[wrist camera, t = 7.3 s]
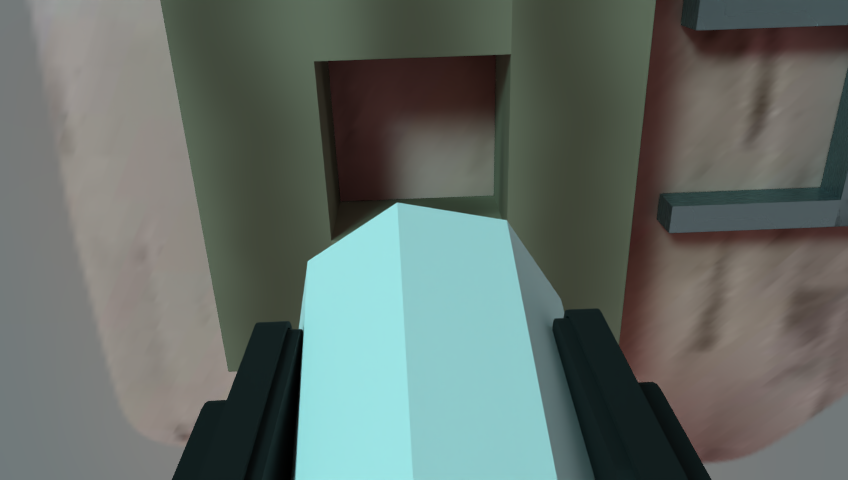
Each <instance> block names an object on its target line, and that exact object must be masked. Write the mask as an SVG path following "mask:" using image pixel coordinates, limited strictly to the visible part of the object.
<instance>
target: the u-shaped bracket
mask: <svg viewBox="0 0 848 480" xmlns="http://www.w3.org/2000/svg"><path fill="white" fill-rule="evenodd" d="M681 25H682V26H685V27H688V28H691V29H694V30H720V29H748V28H776V27H804V26H832V25H848V0H684V4H683V12H682V20H681ZM657 220H658V221H659V222H660V223H661V225H662V226H663V227H664V228H665V229H666V230H667V231H668V232H669V233H684V232H710V231H735V230H760V229H786V228H811V227H836V226H848V70H847V74H846V78H845V83H844V87H843V91H842V96H841V100H840V105H839V109H838V113H837V118H836V122H835V126H834V131H833V135H832V139H831V144H830V148H829V152H828V157H827V161H826V166H825V170H824V174H823V179H822V183H821V187H818V188H793V189H767V190H741V191H715V192H689V193H664V194H660V198H659V206H658V214H657Z"/></svg>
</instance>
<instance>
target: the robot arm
mask: <svg viewBox="0 0 848 480" xmlns="http://www.w3.org/2000/svg"><path fill="white" fill-rule="evenodd" d="M552 331H553V334H554V338H555V341H556V345H557V348H558V352H559V355H560V359H561V362H562V366H563V369H564V373H565V376H566V380H567V383H568V387H569V390H570V394H571V397H572V401H573V404H574V408H575V411H576V415H577V418H578V422H579V425H580V429H581V432H582V436H583V439H584V443H585V446H586V450H587V453H588V457H589V460H590V464H591V467H592V471H593V474H594V478H595V480H711V478H710V476H709V474H708V473H707V471H706V469H705V467H704V466H703V464H702V462H701V460H700V458H699V457H698V455H697V453H696V451H695V449H694V448H693V446H692V444H691V442H690V441H689V439H688V437H687V435H686V433H685V432H684V430H683V428H682V426H681V424H680V423H679V421H678V419H677V417H676V416H675V414H674V412H673V410H672V408H671V407H670V405H669V403H668V401H667V400H666V398H665V396H664V394H663V392H662V391H661V389H660V388H659V386H658V385H657V384H655V383H653V382H642V383H638V382H637V380H636V378H635V376H634V374H633V372H632V370H631V368H630V366H629V364H628V362H627V360H626V358H625V357H624V355H623V353H622V351H621V349H620V347H619V345H618V343H617V341H616V339H615V337H614V335H613V333H612V331H611V329H610V328H609V326H608V324H607V322H606V320H605V318H604V316H603V314H602V312H601V311H600V309H598V308H594V309H569V310H566V311H565V313H564V317H563V318H555V319H554V321H553V327H552ZM302 342H303V330H302V329H292V326H291V323H290V322H289V321H278V322H258V323H256V324H255V326H254V329H253V331H252V334H251V337H250V339H249V342H248V345H247V347H246V350H245V353H244V355H243V358H242V361H241V363H240V366H239V369H238V371H237V374H236V377H235V379H234V382H233V385H232V388H231V390H230V393H229V396H228V398H227V400H220V401H208V402H206V403H205V404H204V406H203V408H202V409H201V411H200V414H199V416H198V419H197V421H196V423H195V426H194V428H193V431H192V433H191V435H190V438H189V440H188V442H187V445H186V447H185V450H184V452H183V454H182V457H181V459H180V462H179V464H178V466H177V469H176V471H175V474H174V476H173V478H172V480H291V470H292V459H293V447H294V436H295V424H296V412H297V401H298V389H299V378H300V366H301V354H302Z"/></svg>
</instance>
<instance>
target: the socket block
mask: <svg viewBox="0 0 848 480" xmlns="http://www.w3.org/2000/svg"><path fill="white" fill-rule="evenodd" d="M160 1H161V6H162V12H163V17H164V23H165V28H166V34H167V39H168V44H169V50H170V55H171V61H172V66H173V72H174V77H175V83H176V88H177V93H178V99H179V104H180V110H181V115H182V121H183V126H184V132H185V137H186V142H187V148H188V153H189V159H190V164H191V170H192V175H193V181H194V186H195V191H196V197H197V202H198V208H199V213H200V219H201V224H202V230H203V235H204V240H205V246H206V251H207V257H208V262H209V268H210V273H211V279H212V284H213V290H214V295H215V300H216V306H217V311H218V317H219V322H220V328H221V333H222V339H223V344H224V349H225V355H226V360H227V366H228V371H229V372H232V371H238V369H239V366H240V363H241V361H242V358H243V355H244V353H245V350H246V347H247V345H248V342H249V339H250V337H251V334H252V331H253V329H254V326H255V324H256V323H258V322H278V321H289V322H290V323H291V326H292V329H299V323H300V315H301V308H302V300H303V293H304V285H305V278H306V270H307V263H308V261H309V260H310V259H312V258H313V257H315V256H316V255H318V254H319V253H321V252H322V251H324V250H326V249H327V248H329V247H330V246H332V245H333V244H335V243H336V242H338V241H339V240H341V239H342V238H344V237H345V236H347V235H348V234H350V233H351V232H353V231H355V230H356V229H358V228H359V227H361V226H362V225H364V224H365V223H367V222H368V221H370V220H371V219H373V218H374V217H376V216H377V215H379V214H380V213H382V212H384V211H385V210H387V209H388V208H390V207H391V206H393V205H394V204H396V203H403V204H410V205H416V206H422V207H428V208H434V209H440V210H446V211H453V212H459V213H465V214H471V215H477V216H483V217H490V218H496V219H502V220H507V221H508V223H509V224H510V226H511V227H512V229H513V230H514V232H515V233H516V234H517V236H518V237H519V239H520V240H521V242H522V243H523V245H524V246H525V248H526V249H527V250H528V252H529V253H530V255H531V256H532V258H533V259H534V261H535V262H536V264H537V265H538V266H539V268H540V269H541V271H542V272H543V274H544V275H545V277H546V278H547V280H548V281H549V282H550V284H551V285H552V287H553V288H554V290H555V291H556V293H557V294H558V296H559V297H560V299H561V301H562V305H563V310H564V313H565V311H566V310H569V309H594V308H598V309H600V311H601V312H602V314H603V316H604V318H605V320H606V322H607V324H608V326H609V328H610V329H611V331H612V333H613V335H614V337H615V339H616V341H617V343H618V345H619V339H620V330H621V321H622V311H623V302H624V293H625V283H626V274H627V265H628V256H629V246H630V237H631V228H632V218H633V209H634V200H635V190H636V181H637V172H638V162H639V153H640V144H641V135H642V125H643V116H644V107H645V97H646V88H647V79H648V69H649V60H650V51H651V41H652V32H653V23H654V14H655V4H656V0H160ZM476 55H496V84H495V156H494V196H474V197H448V198H422V199H396V200H371V201H345V202H340V192H339V181H338V170H337V159H336V147H335V136H334V125H333V113H332V102H331V91H330V79H329V68H328V61H337V60H365V59H393V58H421V57H449V56H476Z"/></svg>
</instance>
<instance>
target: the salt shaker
mask: <svg viewBox="0 0 848 480" xmlns="http://www.w3.org/2000/svg"><path fill="white" fill-rule="evenodd" d="M563 317H564V310H563V305H562V301H561V299H560V297H559V296H558V294H557V293H556V291H555V290H554V288H553V287H552V285H551V284H550V282H549V281H548V280H547V278H546V277H545V275H544V274H543V272H542V271H541V269H540V268H539V266H538V265H537V264H536V262H535V261H534V259H533V258H532V256H531V255H530V253H529V252H528V250H527V249H526V248H525V246H524V245H523V243H522V242H521V240H520V239H519V237H518V236H517V234H516V233H515V232H514V230H513V229H512V227H511V226H510V224H509V223H508V221H507V220H502V219H496V218H490V217H483V216H477V215H471V214H465V213H459V212H453V211H446V210H440V209H434V208H428V207H422V206H416V205H410V204H403V203H396V204H394V205H393V206H391V207H390V208H388V209H387V210H385V211H384V212H382V213H380V214H379V215H377V216H376V217H374V218H373V219H371V220H370V221H368V222H367V223H365V224H364V225H362V226H361V227H359V228H358V229H356V230H355V231H353V232H351V233H350V234H348V235H347V236H345V237H344V238H342V239H341V240H339V241H338V242H336V243H335V244H333V245H332V246H330V247H329V248H327V249H326V250H324V251H322V252H321V253H319V254H318V255H316V256H315V257H313V258H312V259H310V260H309V261H308V263H307V270H306V278H305V285H304V293H303V300H302V308H301V315H300V323H299V329H302V330H303V342H302V354H301V366H300V378H299V389H298V401H297V412H296V424H295V436H294V447H293V459H292V470H291V480H595V478H594V474H593V471H592V467H591V464H590V460H589V457H588V453H587V450H586V446H585V443H584V439H583V436H582V432H581V429H580V425H579V422H578V418H577V415H576V411H575V408H574V404H573V401H572V397H571V394H570V390H569V387H568V383H567V380H566V376H565V373H564V369H563V366H562V362H561V359H560V355H559V352H558V348H557V345H556V341H555V338H554V334H553V331H552V327H553V321H554V319H555V318H563Z"/></svg>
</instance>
